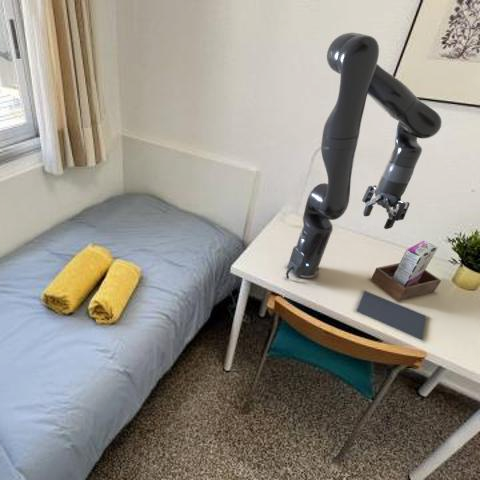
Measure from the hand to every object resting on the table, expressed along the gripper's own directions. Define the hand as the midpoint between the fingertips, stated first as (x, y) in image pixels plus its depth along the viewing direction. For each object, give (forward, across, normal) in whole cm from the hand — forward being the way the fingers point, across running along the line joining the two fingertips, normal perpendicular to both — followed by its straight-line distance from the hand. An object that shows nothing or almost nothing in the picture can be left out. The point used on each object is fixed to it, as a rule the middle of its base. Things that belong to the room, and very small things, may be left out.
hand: (376, 221), depth 117 cm
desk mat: (+21, +21, -6) cm, 30 cm away
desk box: (+21, +12, +10) cm, 26 cm away
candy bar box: (+22, +12, +10) cm, 26 cm away
